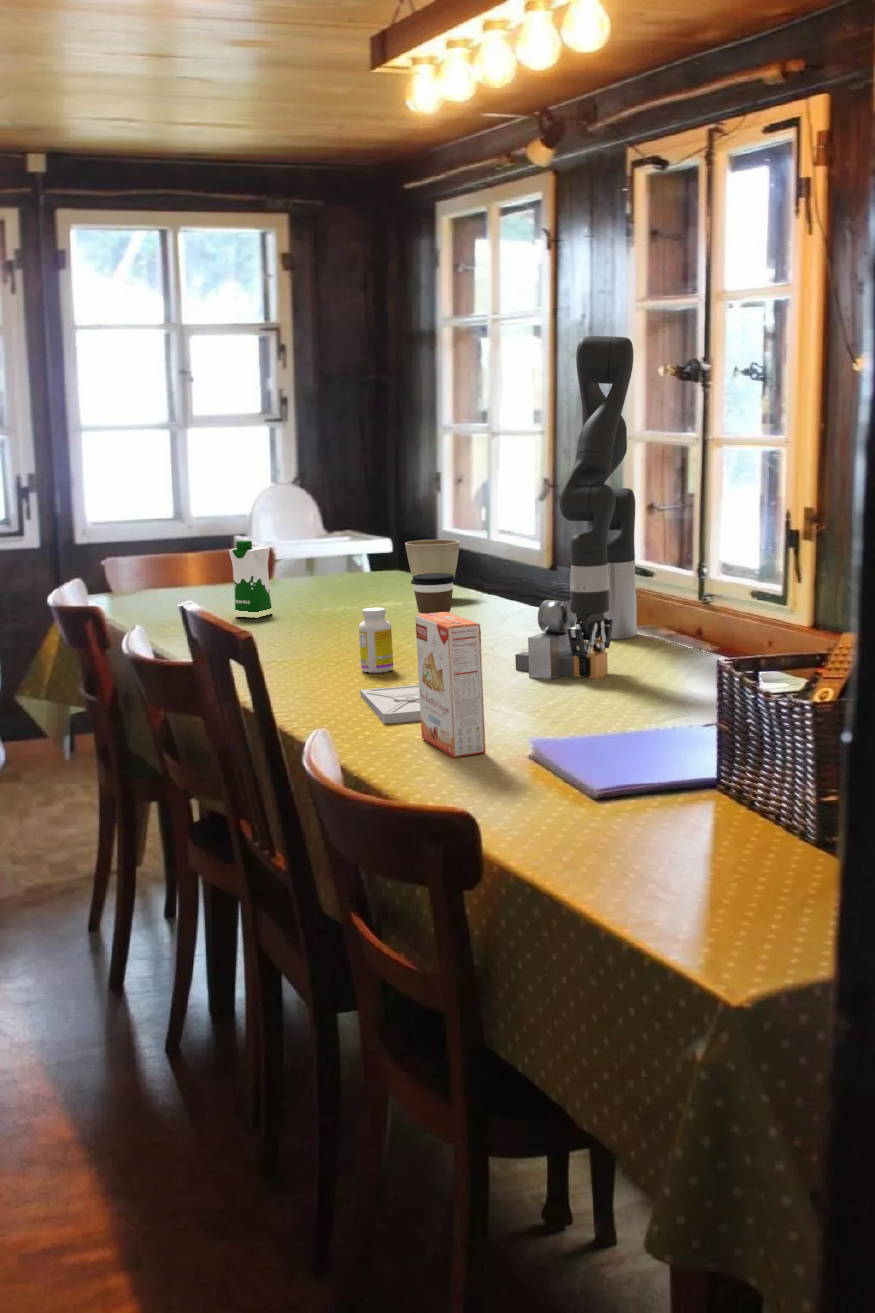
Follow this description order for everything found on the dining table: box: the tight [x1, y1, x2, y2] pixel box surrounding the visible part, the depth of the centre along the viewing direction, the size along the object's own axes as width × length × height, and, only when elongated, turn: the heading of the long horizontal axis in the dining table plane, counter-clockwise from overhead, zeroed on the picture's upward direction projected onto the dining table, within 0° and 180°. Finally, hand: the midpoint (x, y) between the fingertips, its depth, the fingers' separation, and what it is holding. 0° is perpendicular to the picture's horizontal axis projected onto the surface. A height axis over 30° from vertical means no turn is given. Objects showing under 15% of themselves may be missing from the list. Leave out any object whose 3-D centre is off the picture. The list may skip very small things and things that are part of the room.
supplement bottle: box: [358, 607, 394, 674], centre depth 285 cm, size 7×7×13 cm
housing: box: [527, 599, 587, 681], centre depth 276 cm, size 14×5×14 cm, turn 144°
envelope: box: [359, 684, 421, 725], centre depth 252 cm, size 24×2×14 cm
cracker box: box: [415, 612, 486, 758], centre depth 220 cm, size 14×6×21 cm, turn 22°
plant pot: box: [404, 539, 461, 577], centre depth 379 cm, size 15×15×16 cm
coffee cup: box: [410, 573, 457, 615], centre depth 340 cm, size 11×11×12 cm
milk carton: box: [228, 540, 273, 612], centre depth 363 cm, size 9×9×20 cm
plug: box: [514, 650, 609, 679], centre depth 276 cm, size 19×4×4 cm, turn 54°
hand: (591, 673), depth 273 cm, fingers closed on plug, 4 cm apart
